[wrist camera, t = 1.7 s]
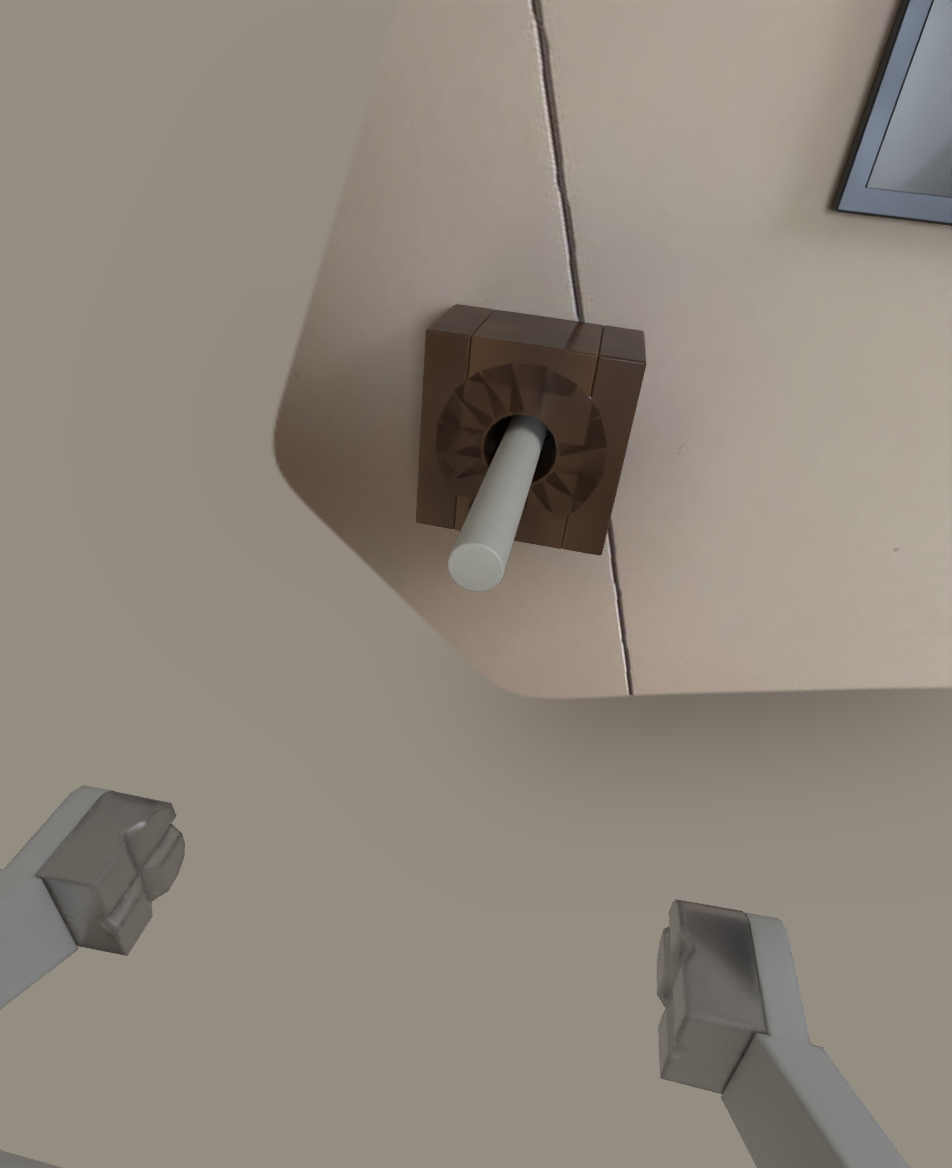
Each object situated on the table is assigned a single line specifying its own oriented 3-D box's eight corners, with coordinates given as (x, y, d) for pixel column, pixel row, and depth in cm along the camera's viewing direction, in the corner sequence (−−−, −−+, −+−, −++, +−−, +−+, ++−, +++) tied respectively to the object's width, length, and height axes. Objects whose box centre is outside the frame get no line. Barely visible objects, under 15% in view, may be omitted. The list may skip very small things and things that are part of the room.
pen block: (442, 476, 33) (415, 523, 29) (455, 303, 29) (425, 329, 24) (605, 504, 32) (601, 556, 28) (644, 330, 28) (646, 362, 24)
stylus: (514, 424, 31) (445, 587, 19) (519, 389, 30) (448, 538, 18) (549, 429, 31) (499, 597, 19) (555, 395, 30) (506, 548, 18)
